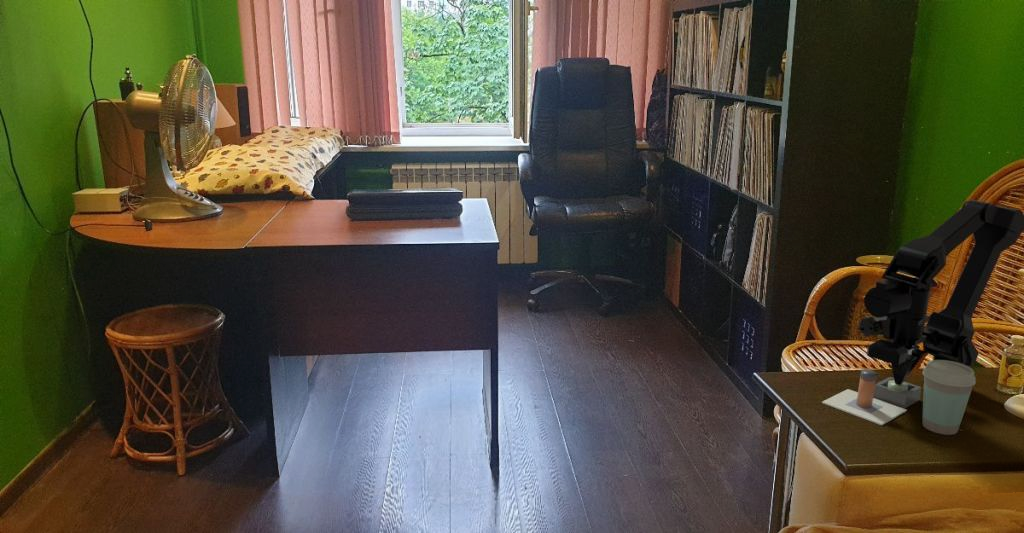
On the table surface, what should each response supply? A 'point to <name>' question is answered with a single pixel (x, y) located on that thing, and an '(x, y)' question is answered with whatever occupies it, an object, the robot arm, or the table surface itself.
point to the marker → (866, 388)
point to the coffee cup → (945, 395)
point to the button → (898, 386)
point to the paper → (876, 413)
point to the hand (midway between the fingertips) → (898, 383)
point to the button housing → (897, 394)
